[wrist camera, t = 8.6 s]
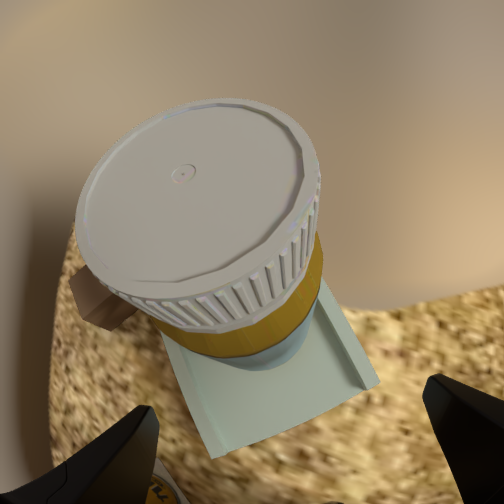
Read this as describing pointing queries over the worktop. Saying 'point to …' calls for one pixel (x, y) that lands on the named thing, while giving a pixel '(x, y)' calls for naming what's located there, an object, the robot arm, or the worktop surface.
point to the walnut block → (98, 301)
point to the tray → (274, 383)
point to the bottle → (211, 228)
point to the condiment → (164, 487)
